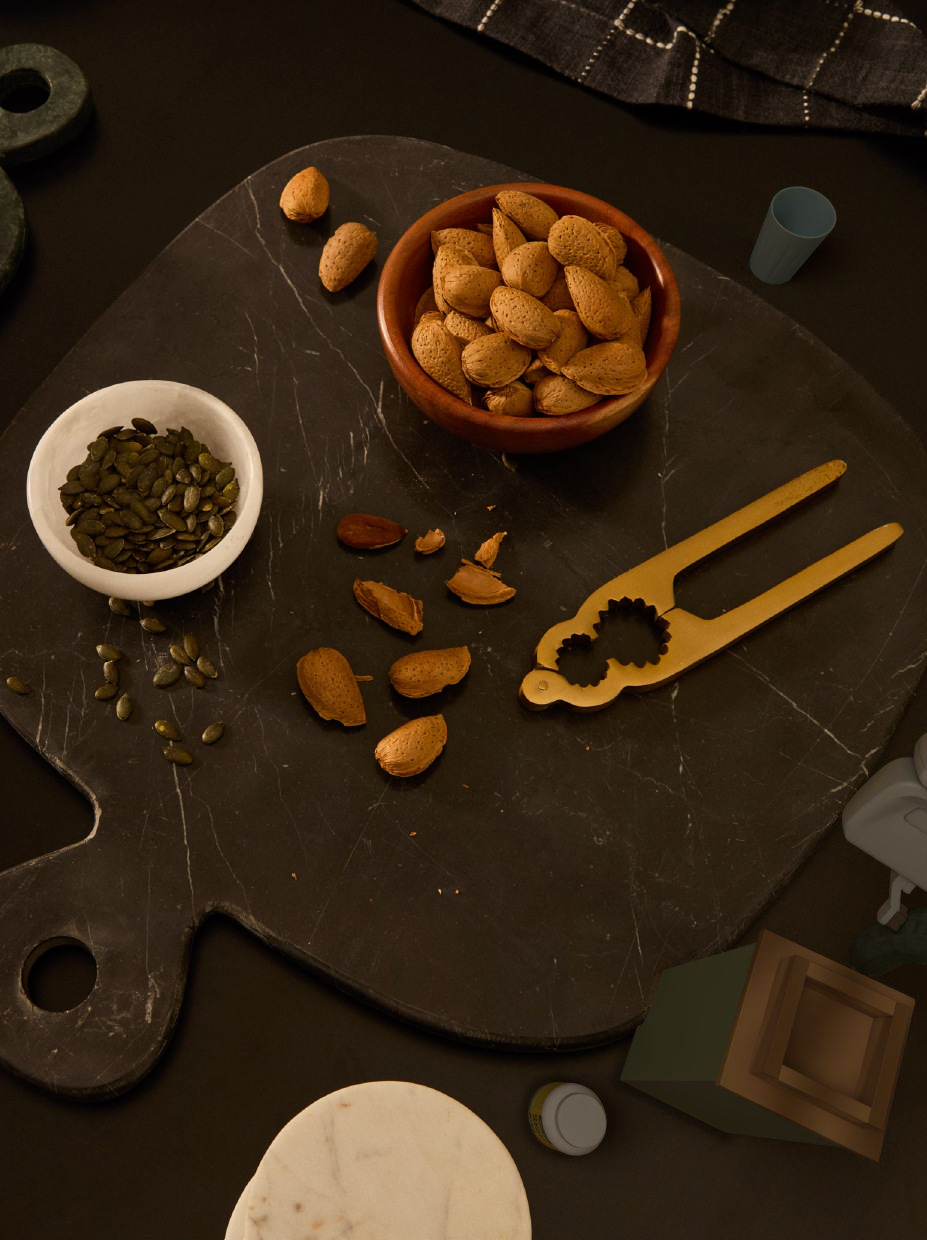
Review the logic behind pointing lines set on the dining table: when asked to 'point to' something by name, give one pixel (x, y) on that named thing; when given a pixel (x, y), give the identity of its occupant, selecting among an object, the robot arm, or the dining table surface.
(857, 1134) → the socket pad
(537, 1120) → the supplement bottle
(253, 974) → the dining table surface
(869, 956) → the vegetable
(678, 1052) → the stand
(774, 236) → the cup
